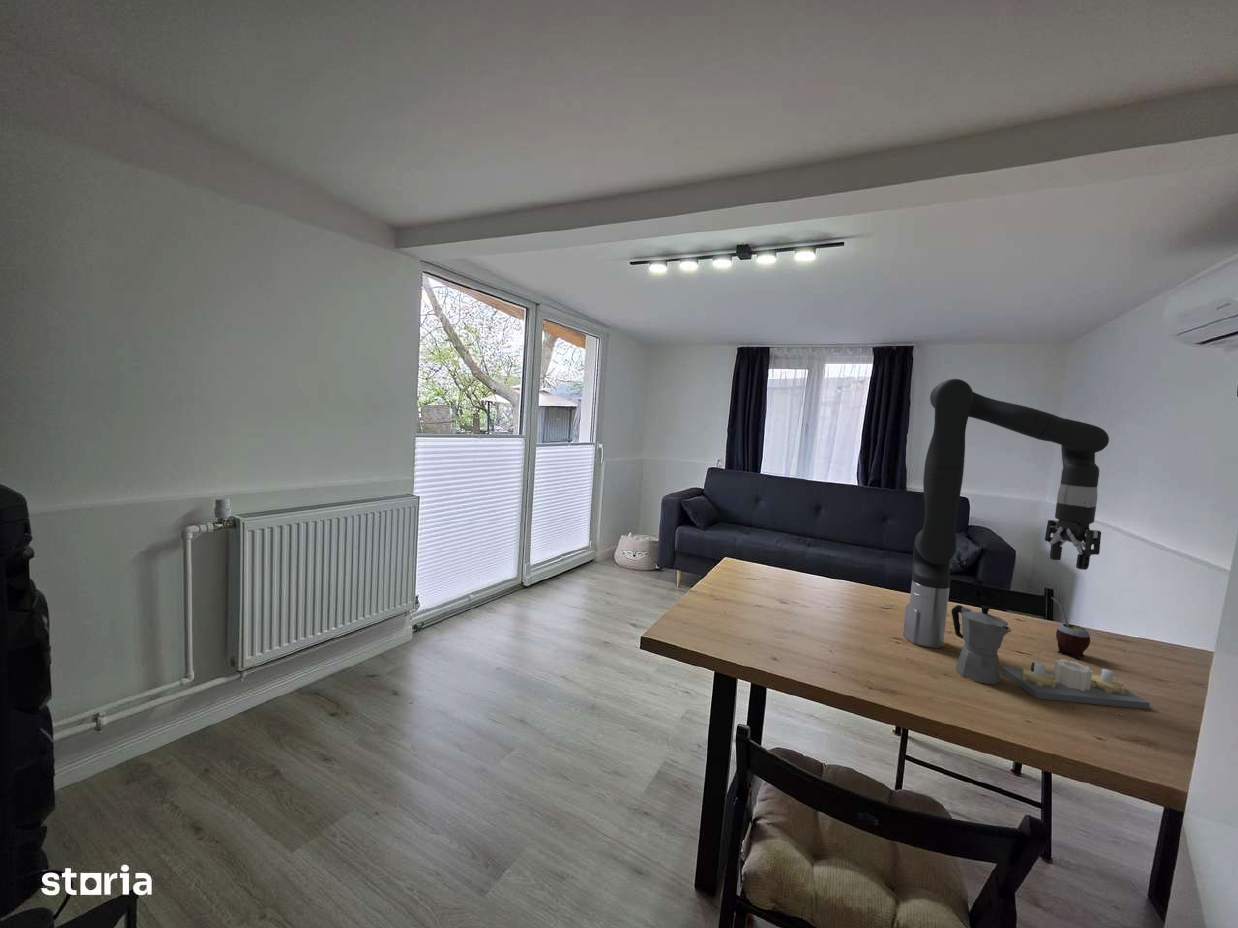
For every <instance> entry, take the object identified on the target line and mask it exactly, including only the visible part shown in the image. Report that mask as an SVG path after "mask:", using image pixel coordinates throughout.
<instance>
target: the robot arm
mask: <svg viewBox="0 0 1238 928" xmlns="http://www.w3.org/2000/svg"><path fill="white" fill-rule="evenodd" d="M929 401H930V405H931V406H932V407H933V408H934V426H933V427H934V428H933V433H932V436H931V439H930V442H929V446H928V449H927V453H926V457H925V461H924V468H923V469H924V470H923V479H922V480H923V485H922V487H923V497H924V498H923V499H924V500H923V501H924V508H925V509H924V511H925V513H924V514H925V515H924V521H923V526H922V529H921V530H920V531H918V533H917V534H916V536H915V539H914V542H913V543H914V544H913V553H912V554H913V555H912V556H913V557H912V565H911V566H912V567H911V568H912V569H911V571H912V577H911V587H910V588H911V589H910V595H909V596H910V597H909V603H908V604H906V605H905V612H904V613H905V614H904V624H903V631H902V635H903V636H904V638H906V640H908V641H909V642H911V644H913V645H918V646H922V647H925V648H926V647H927V648H933V649H935V648H937V649H940V648H942V647H943V646H944V640H945V631H946V623H947V614H948V612H947V611H948V605H949V595H950V587H951V574H950V573H951V571H950V570H951V569H950V568H951V567H950V566H951V560H952V559H953V558H954V557H955V554H956V552H957V514H958V513H957V512H958V508H959V503H960V497H961V493H962V485H963V479H964V468H965V455H966V431H967V424H968V421H969V420H968V419H969V418H972V419H977V420H979V421H983V422H986V423H990V424H992V425H995V426H998V427H1002V428H1004V429H1007V430H1008V431H1009V430H1010V431H1013V432H1016V433H1019V434H1021V435H1024V436H1027V437H1029V438H1033V439H1037V440H1039V441H1040V440H1041V441H1044V442H1051V443H1055V444H1058V445H1060V446H1061V461H1062V462H1061V463H1062V471H1061V477H1060V485H1059V489H1058V491H1057V497H1056V506H1055V512H1054V518H1055V519H1056V520H1055V519H1048V520H1047V523H1046V529H1045V535H1044V541H1045V542H1048V543H1049V546H1050V552H1049V558H1050V560H1052V561H1061V559H1062V553H1063V551H1062V550H1063V545H1064V544H1065V543H1066V542H1070V543H1072V546H1074V547H1075V548H1076V551H1077V552H1078V554H1077V557H1076V564H1075V567H1076V569H1078V570H1085V571H1086V570H1087V569H1088V568H1089V566H1090V560H1091V556H1094V555H1100V552H1101V551H1100V550H1101V538H1102V531H1101V530H1097V529H1090V525H1091V524H1093V523H1095V519H1096V511H1097V503H1098V486H1099V477H1100V468H1099V466H1098V464H1096V453H1098V452H1101V451H1103V450H1104V449H1106V447H1108V445H1109V442H1110V435H1108V432H1107V431H1106V430H1104V429H1103V428H1101V427H1099V426H1096V425H1093V424H1090V423H1086V422H1082V421H1078V420H1073V419H1068V418H1064V417H1061V416H1058V415H1055V414H1053V413H1049V412H1046V411H1043V410H1039V409H1036V408H1033V407H1029V406H1025V405H1021V404H1015V403H1012V402H1005V401H1003V400H998V399H993V398H990V397H987V396H984V395H982V394H979V393H977V392H975V391H973V388H972V387H971V385H970V384H969V383H968V382H967V381H964V380H962V379H959V378H951V379H947V380H945V381H942V382H940V383H939V384H938V385H936V386H935V387H934V388H933V389H932V391H931V392H930V395H929ZM1052 534H1053V535H1052ZM1051 535H1052V536H1051ZM1092 545H1093V549H1092Z"/></svg>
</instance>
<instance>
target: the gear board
mask: <svg viewBox="0 0 1238 928" xmlns="http://www.w3.org/2000/svg"><path fill="white" fill-rule="evenodd" d="M1046 667H1047V666H1046V665H1045V664H1042V663H1039V662H1034V661H1033V662H1031V667H1030V668H1025V667H1023V668H1021V667H1020V668H1018V667H1007V666H1006V667H1005V666H1002V667H1001V674H1003V675H1004V676H1006V677H1007V678H1009V679H1010V680H1011V679H1012V680H1013V681H1012V680H1011V681H1012V682H1013V683H1015V682H1016V683H1017V684H1016V683H1015V684H1016V685H1018V686H1019V685H1020V686H1021V687H1020V686H1019V687H1020V688H1022V687H1023V688H1024V689H1023V688H1022V689H1023V690H1024V691H1026V692H1027V691H1028V692H1027V693H1028V694H1030V695H1031V696H1033V697H1034V698H1035V699H1039V700H1040V699H1042V700H1051V701H1058V702H1059V701H1061V702H1070V703H1071V702H1072V703H1079V704H1080V703H1083V704H1092V705H1102V706H1114V707H1123V708H1134V709H1145V710H1149V709H1150V703H1151V702H1149V701H1148V700H1145V699H1144V698H1142V697H1140V696H1139V695H1137V694H1136V693H1134V692H1132V691H1129V690H1128V689H1127V688H1126V687H1125V686H1124V682H1121V681H1119V680H1115V679H1114V671H1112V670H1110V669H1105V668H1101V674H1099V675H1098V674H1092V680H1091V687H1090V690H1087V689H1086V690H1085V691H1080V690H1079V689H1074V688H1072V689H1071V688H1068V687H1066V686H1065V685H1063V684H1061V683H1057V681H1055V677H1054V676H1053V675H1054V670H1053V671H1052V670H1046ZM1069 667H1071V668H1075V669H1078V668H1076V667H1073V666H1069Z"/></svg>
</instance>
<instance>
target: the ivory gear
mask: <svg viewBox="0 0 1238 928" xmlns="http://www.w3.org/2000/svg"><path fill="white" fill-rule="evenodd" d="M1069 666H1073V667H1076V668H1078V669H1075V668H1071V667H1069ZM1053 672H1054V675H1053V676H1054V677H1055V681H1057V683H1061V684H1063V685H1065V686H1066V687H1068V688H1071V689H1072V688H1074V689H1079V690H1080V691H1085V690H1086V689H1087V690H1090V687H1091V680H1092V675H1093V672H1094V671H1093V670H1091V667H1089V666H1087V665H1084V664H1081V663H1079V662H1077V661H1070V660H1067V659H1064V658H1060V660H1059V659H1055V661H1054V668H1053Z"/></svg>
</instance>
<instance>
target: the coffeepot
mask: <svg viewBox="0 0 1238 928" xmlns="http://www.w3.org/2000/svg"><path fill="white" fill-rule="evenodd" d="M989 611H990V607H988V606H986V605H981V611H973V610H972V609H970V608H968V607H965V606H963V605H960V604H957V605H956V606H954V607H952V608H951V617H952V622H953V627H954V632H955V635H956V637H958V638H960V639H963V641H964V645H963V647H961V651H960V653H959V657H958V659H957V662H956V665H955V668H954V669H955V671H956V672H957V673H958V674H959V675H960V676H962V677H963V678H965V679H967V678H969V679H971V680H970V681H972V680H974V681H973V682H975V681H976V683H978V682H979V684H982V683H986V684H985V685H989V684H994V685H998V684H999V682H1000V681H1001V669H1000V661H999V660H1000V659H999V658H1000V657H999V655H998V650H999V649H1000V648H1001V645H1002V643H1003V641H1004V637H1005V636H1006V635H1007V634H1008V633H1011V632H1012V629H1011V627H1009V626H1008V624H1009V623H1008V622H1007V621H1006V620H1004V619H1003V618H1001V617H999V616H996V615H992V614H989ZM959 613H960V614H961V624H960V614H959ZM961 629H962V633H961ZM969 679H968V680H969ZM997 683H998V684H997Z"/></svg>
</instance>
